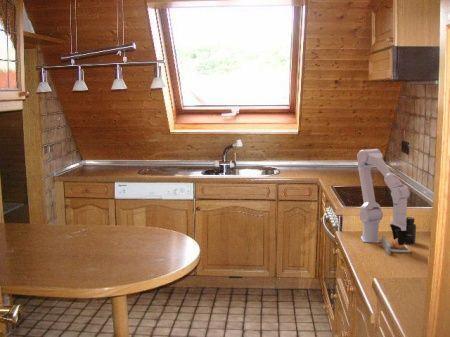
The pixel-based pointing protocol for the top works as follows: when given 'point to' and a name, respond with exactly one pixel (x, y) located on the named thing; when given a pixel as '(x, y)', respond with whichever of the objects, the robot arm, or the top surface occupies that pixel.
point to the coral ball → (396, 245)
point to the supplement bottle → (410, 231)
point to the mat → (400, 250)
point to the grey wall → (386, 245)
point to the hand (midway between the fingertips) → (398, 242)
